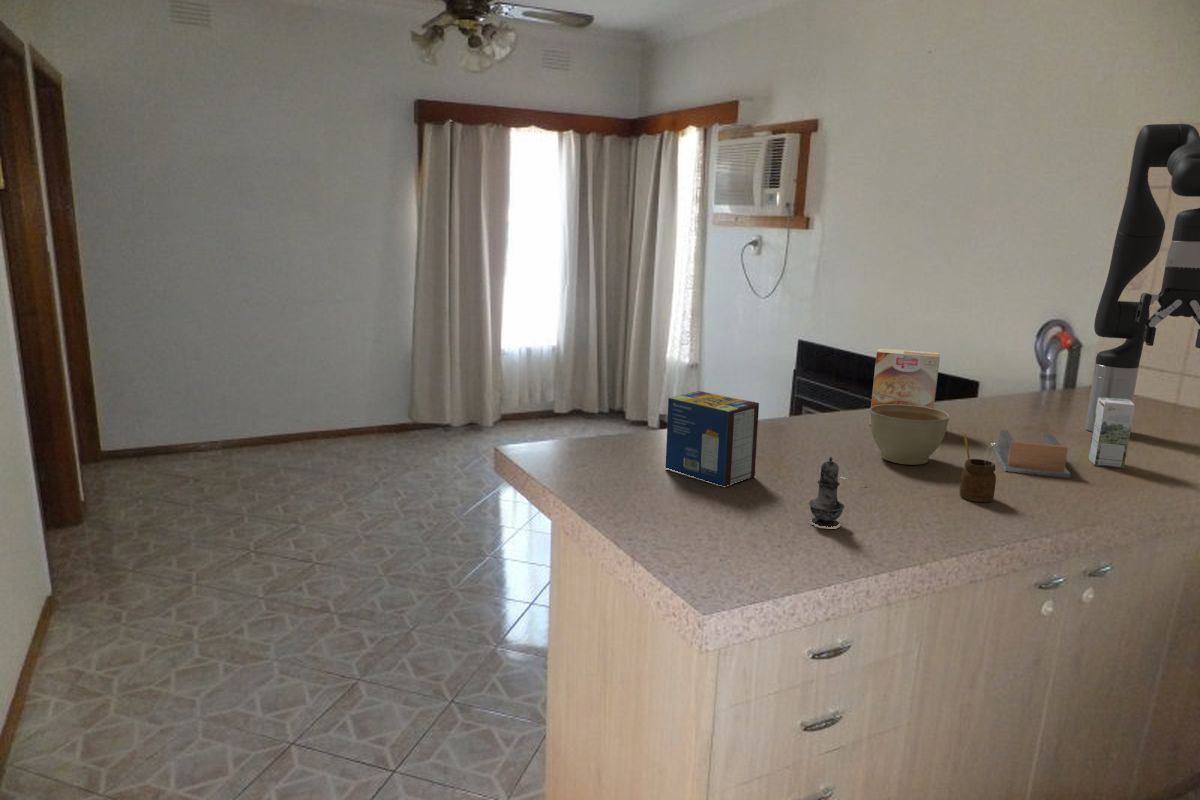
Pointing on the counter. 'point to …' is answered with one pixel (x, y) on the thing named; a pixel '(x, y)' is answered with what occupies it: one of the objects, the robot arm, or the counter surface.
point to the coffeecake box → (905, 378)
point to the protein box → (712, 437)
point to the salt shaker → (827, 497)
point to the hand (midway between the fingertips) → (1173, 346)
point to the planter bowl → (907, 432)
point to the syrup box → (1111, 432)
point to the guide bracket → (1032, 456)
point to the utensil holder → (978, 478)
